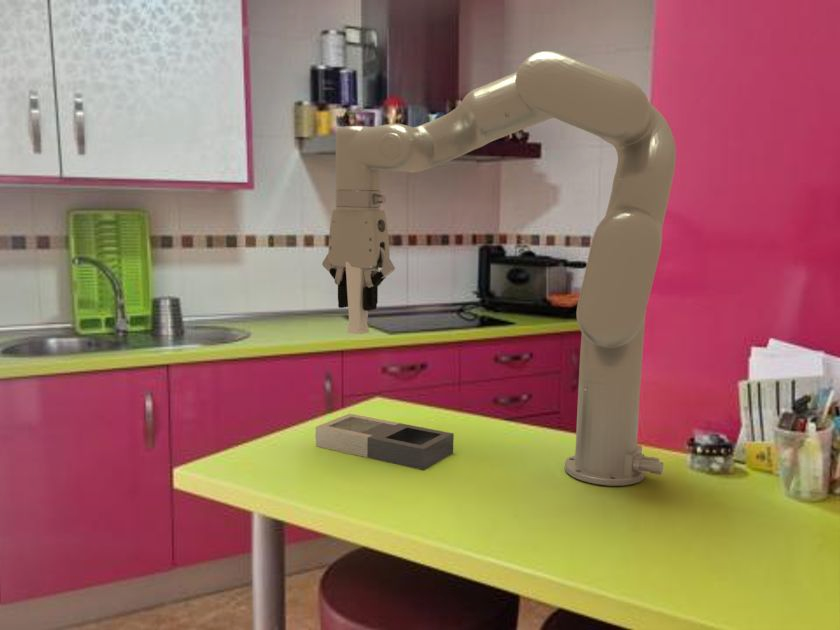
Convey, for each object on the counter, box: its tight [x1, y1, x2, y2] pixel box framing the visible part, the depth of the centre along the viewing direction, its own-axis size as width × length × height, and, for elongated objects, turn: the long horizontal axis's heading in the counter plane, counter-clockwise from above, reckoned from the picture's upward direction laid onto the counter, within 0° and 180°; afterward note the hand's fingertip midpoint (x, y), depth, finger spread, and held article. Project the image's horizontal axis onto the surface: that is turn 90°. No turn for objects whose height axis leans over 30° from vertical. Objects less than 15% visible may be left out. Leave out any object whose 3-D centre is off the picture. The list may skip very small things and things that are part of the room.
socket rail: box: [315, 413, 455, 471], centre depth 134 cm, size 22×10×4 cm, turn 59°
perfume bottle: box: [345, 262, 370, 335], centre depth 133 cm, size 5×4×15 cm
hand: (357, 307), depth 133 cm, fingers closed on perfume bottle, 4 cm apart
